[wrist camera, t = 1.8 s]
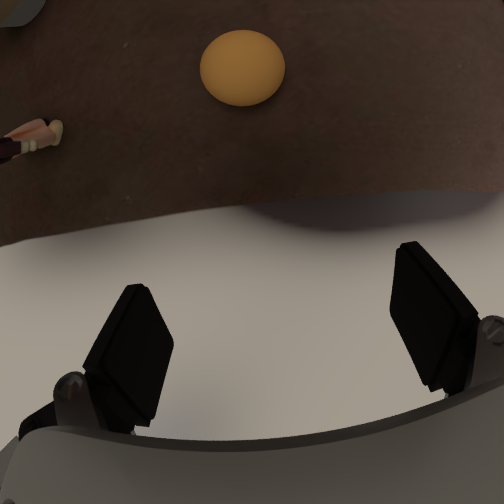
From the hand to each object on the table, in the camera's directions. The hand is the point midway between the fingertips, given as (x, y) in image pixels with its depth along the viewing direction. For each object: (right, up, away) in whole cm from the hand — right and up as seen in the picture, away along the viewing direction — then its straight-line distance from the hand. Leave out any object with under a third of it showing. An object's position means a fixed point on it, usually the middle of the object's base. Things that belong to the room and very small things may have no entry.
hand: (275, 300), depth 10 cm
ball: (-2, +15, +7) cm, 16 cm away
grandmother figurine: (-22, +14, +12) cm, 29 cm away
